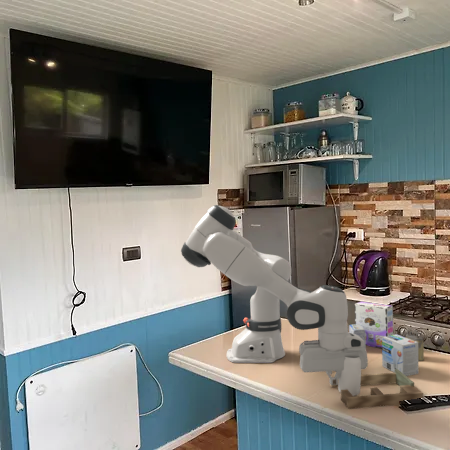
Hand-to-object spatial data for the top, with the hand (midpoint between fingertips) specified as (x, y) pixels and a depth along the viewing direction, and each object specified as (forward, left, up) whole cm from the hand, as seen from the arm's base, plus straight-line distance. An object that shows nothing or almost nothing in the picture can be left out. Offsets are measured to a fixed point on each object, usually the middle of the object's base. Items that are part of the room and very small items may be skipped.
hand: (333, 384), depth 142 cm
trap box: (+12, -2, -3) cm, 12 cm away
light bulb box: (+28, +15, -3) cm, 32 cm away
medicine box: (+22, +39, -3) cm, 45 cm away
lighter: (+38, +25, -3) cm, 45 cm away
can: (+5, 0, -3) cm, 6 cm away
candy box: (+30, +42, -3) cm, 52 cm away
